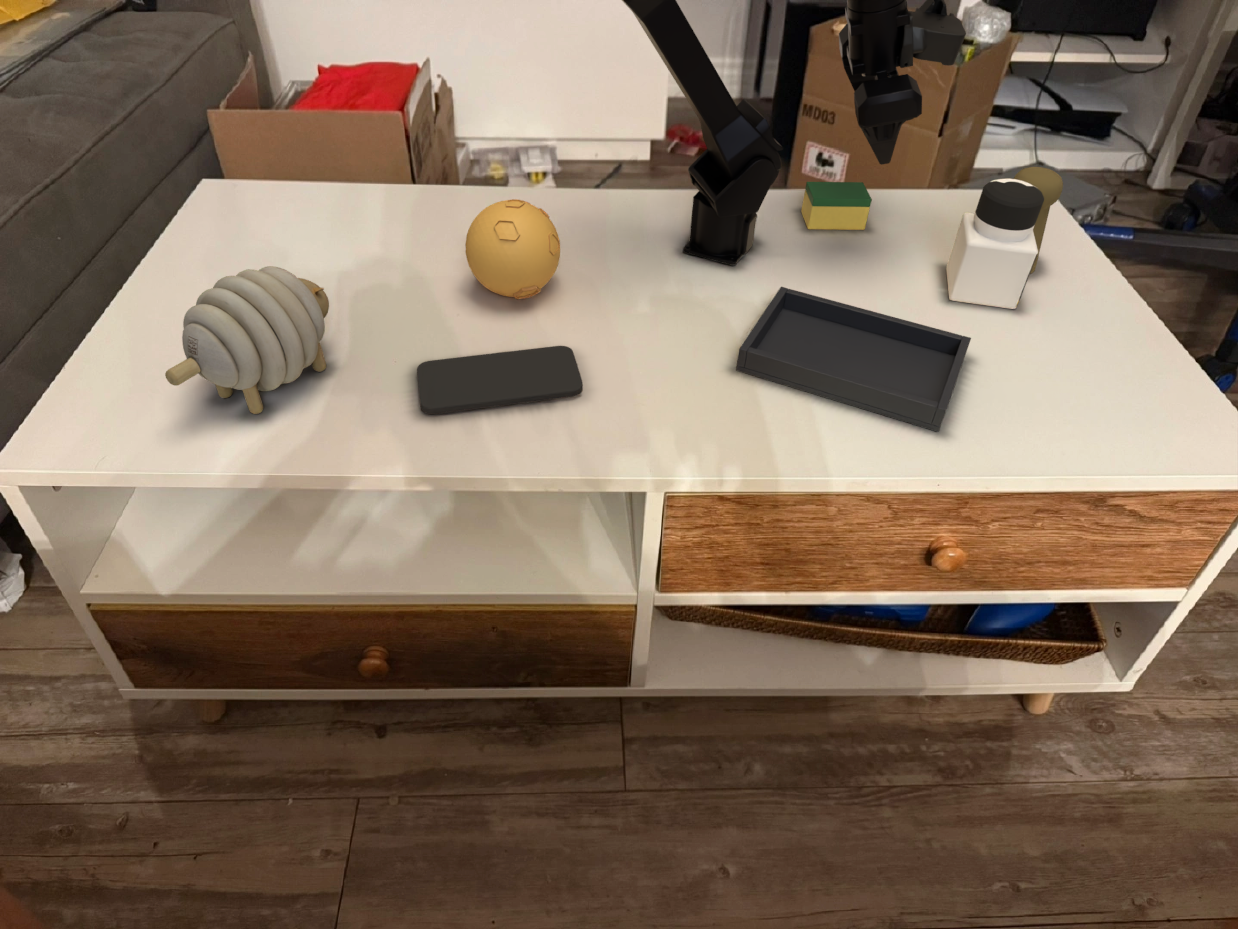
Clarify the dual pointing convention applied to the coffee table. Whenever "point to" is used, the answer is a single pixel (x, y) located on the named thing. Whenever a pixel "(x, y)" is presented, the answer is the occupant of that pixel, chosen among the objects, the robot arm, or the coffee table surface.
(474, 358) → the phone
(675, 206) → the coffee table surface
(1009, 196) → the medicine bottle
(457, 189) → the coffee table surface
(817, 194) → the sponge
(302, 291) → the toy sheep
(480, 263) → the stress ball
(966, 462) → the coffee table surface
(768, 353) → the tray
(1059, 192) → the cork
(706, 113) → the robot arm
